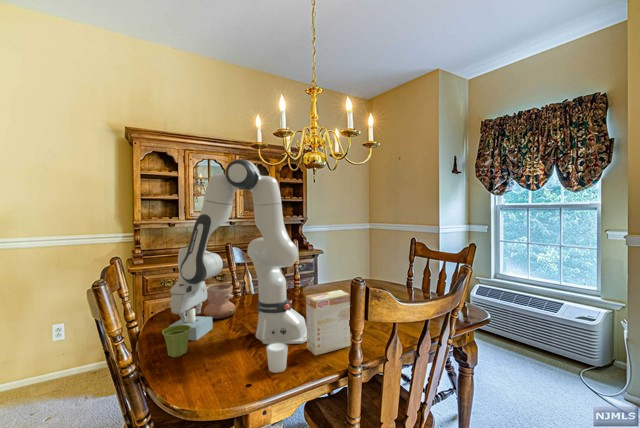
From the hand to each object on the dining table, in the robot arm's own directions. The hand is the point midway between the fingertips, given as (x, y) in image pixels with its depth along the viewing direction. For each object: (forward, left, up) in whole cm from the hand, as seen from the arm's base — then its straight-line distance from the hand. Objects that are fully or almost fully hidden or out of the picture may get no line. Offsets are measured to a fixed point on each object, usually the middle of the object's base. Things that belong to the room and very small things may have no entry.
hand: (191, 317), depth 129 cm
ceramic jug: (-1, -21, -7) cm, 22 cm away
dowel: (0, 0, -7) cm, 7 cm away
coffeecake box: (-58, +4, -7) cm, 59 cm away
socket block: (0, 0, -7) cm, 7 cm away
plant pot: (-5, +17, -7) cm, 19 cm away
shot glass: (-44, +21, -7) cm, 49 cm away
